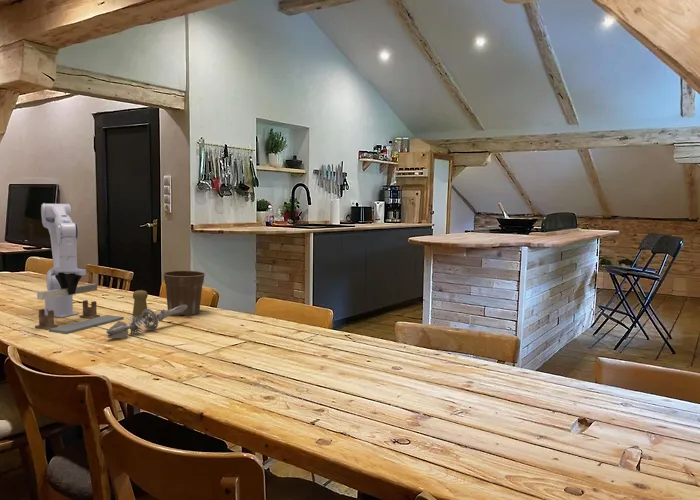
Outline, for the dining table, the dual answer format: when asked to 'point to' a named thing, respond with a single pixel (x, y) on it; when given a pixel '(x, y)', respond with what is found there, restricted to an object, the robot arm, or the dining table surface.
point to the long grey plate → (85, 324)
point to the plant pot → (184, 290)
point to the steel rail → (65, 291)
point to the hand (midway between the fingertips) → (68, 294)
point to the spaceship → (142, 322)
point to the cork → (139, 302)
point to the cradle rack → (48, 321)
